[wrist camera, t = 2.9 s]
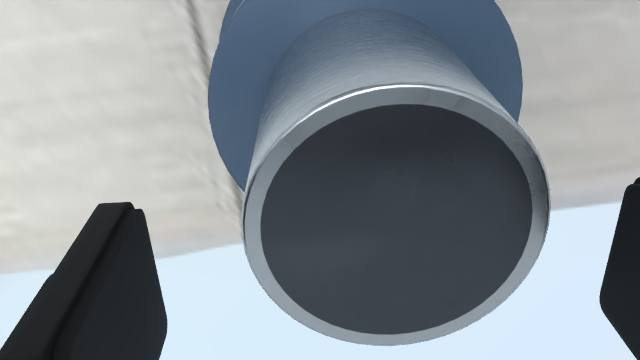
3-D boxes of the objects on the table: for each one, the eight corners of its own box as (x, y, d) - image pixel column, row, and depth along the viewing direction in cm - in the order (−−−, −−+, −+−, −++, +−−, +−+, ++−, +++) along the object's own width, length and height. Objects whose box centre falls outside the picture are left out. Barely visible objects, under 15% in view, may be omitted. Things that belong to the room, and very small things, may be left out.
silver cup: (474, 3, 16) (578, 74, 10) (458, 195, 19) (529, 342, 13) (255, 13, 16) (222, 89, 10) (273, 203, 19) (255, 353, 13)
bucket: (473, -98, 24) (571, -92, 15) (454, 140, 29) (518, 250, 20) (214, -87, 24) (159, -73, 15) (242, 149, 29) (212, 263, 20)
